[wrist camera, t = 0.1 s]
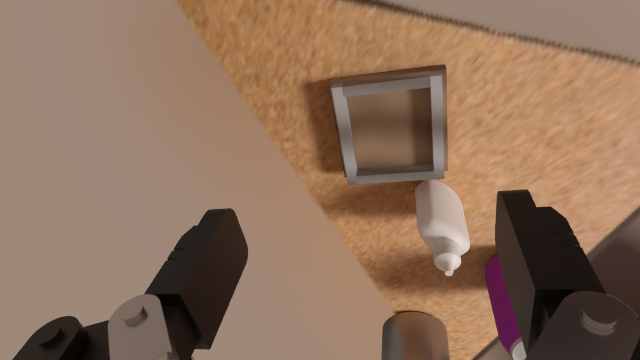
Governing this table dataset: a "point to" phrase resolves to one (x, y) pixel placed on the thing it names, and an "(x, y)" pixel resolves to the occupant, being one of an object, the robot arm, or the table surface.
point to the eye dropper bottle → (441, 224)
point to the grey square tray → (392, 125)
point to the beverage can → (503, 310)
